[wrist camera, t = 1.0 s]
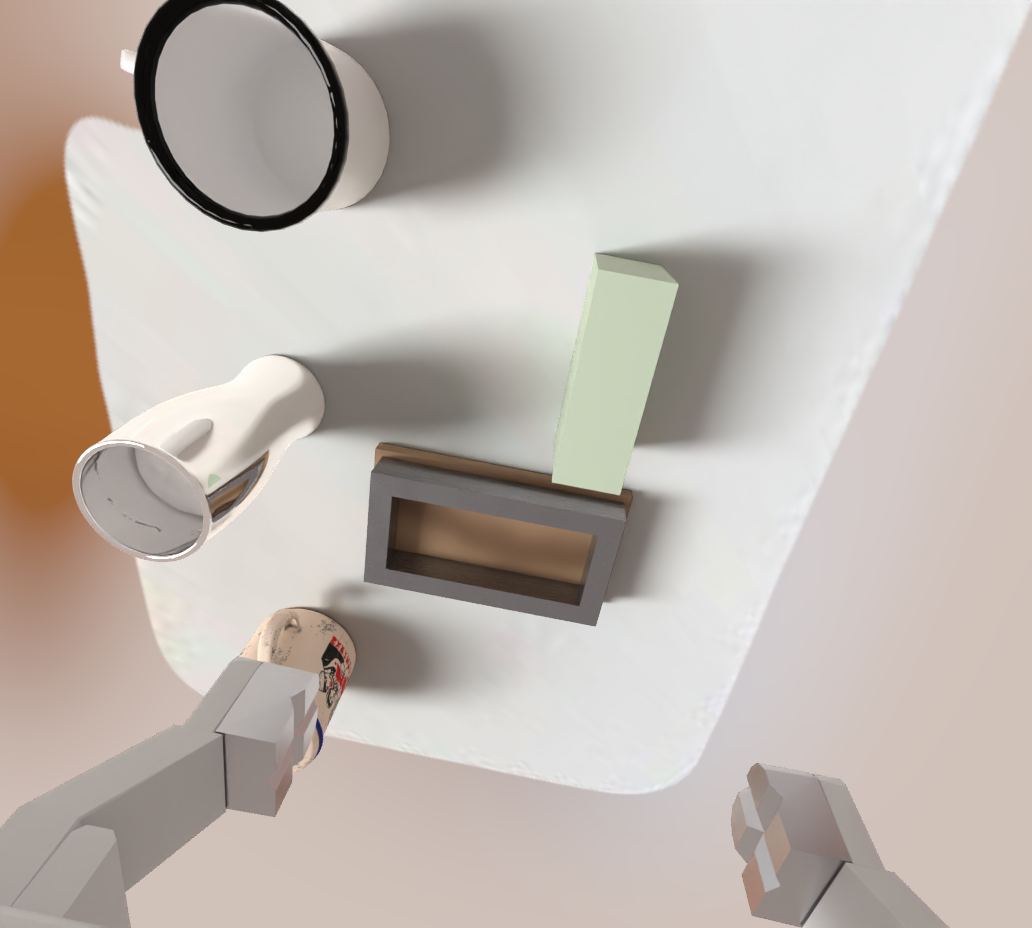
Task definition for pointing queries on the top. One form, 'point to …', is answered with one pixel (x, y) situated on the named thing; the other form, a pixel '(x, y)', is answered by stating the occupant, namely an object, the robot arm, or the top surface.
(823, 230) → the top surface
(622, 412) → the green bar
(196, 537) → the white tumbler
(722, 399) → the top surface
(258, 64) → the mug
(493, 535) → the locating frame
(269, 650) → the teacup with lid
